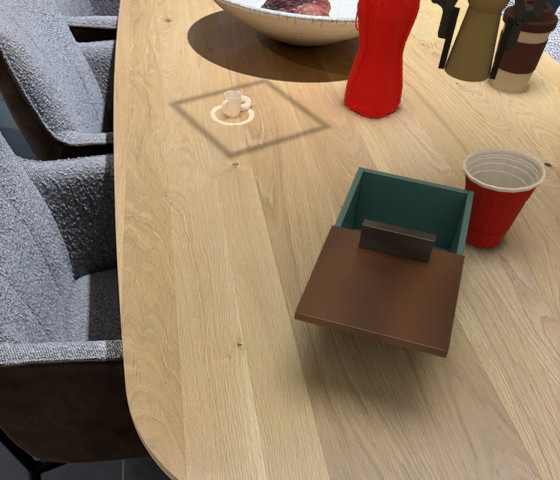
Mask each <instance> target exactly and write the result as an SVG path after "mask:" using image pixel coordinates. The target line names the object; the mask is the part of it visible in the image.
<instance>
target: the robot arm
mask: <svg viewBox="0 0 560 480" xmlns="http://www.w3.org/2000/svg"><path fill="white" fill-rule="evenodd" d="M430 1H431V3H432V4H434V5H437V6H439V7H440V8H441V9H442V10H441V11H442V13H441V17H440V22H439V25H438V29H437V38H438V39H443V40H444V42H443V46H442V50H441V55H440V58H439V62H438V65H437V69H438V70H444V67H445V64H446V62H447V59H448V57H449V54H450V50H451V47H452V42H453V38H454V34H455V30H456V27H457V22H458V18H459V15H460V11H461V7H459V6H456V5H457V4H458V1H459V0H430ZM547 1H548V0H535V2H534V6H533V7H528V8H526V2H527V0H514V4H515V11H514V18H513V17H508V19H507V22H506V25H505V28H504V31H503V35H502V38H501V41H500V44H499V47H498V50H497V49H496V50H497V53H496V52H495V54H496V56H495V55H494V58H495V60H494V59H493V62H492V67H491V72H490V76H489V78H488V79H489V80H490V79H494V80H495V78H496V75H497V72H498V69H499V66H500V63H501V60H502V57H503V54H504V51H510V52H512V51H513V50H514V49H515V47H516V44H517V41H518V38H519V35H520V32H521V29H522V26H523V25H524V24H525V23H527V22H531V21H534V22H538V21H540V20H541V18H542V15H543V12H544V8H545V5H546V3H547Z"/></svg>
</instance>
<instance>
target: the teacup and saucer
mask: <svg viewBox="0 0 560 480" xmlns="http://www.w3.org/2000/svg"><path fill="white" fill-rule="evenodd" d="M252 105H253V100H252V99H251V98H250V97H249V96H248V95H243V94H242V93H241V92H240V91H238V90H227V91H225V92H224V93H223V101H222V103H221V104H218V105H216V106H214V107H213V108H212V109H211V110H210V112H209V116H210V118H211V119H212V120H213V121H214V122H216V123H218V124H221V125H224V126H231V127H236V126H242V125H247V124H249V123H251V122H252V121H253V120H254V119H255V117H256V115H255V111H254V110H253V109H252V108H251V107H252ZM220 109H222V112H223V114H225V115H226V117H228V118H230V119H231V118H232V119H235V118H238V117H239V116H240V114H241V112H245V111H247V113H248V114H249V116H248V117H247V119H245V120H243V121H240V122H226V121H223V120H221V119H219V118H218V117H217V115H216V112H217V111H218V110H220Z"/></svg>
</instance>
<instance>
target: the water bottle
mask: <svg viewBox="0 0 560 480" xmlns="http://www.w3.org/2000/svg"><path fill="white" fill-rule="evenodd" d="M420 7H421V0H358V1H357V4H356V12H355V19H354V20H355V21H354V28H355V29H356V31H357V32H358V48H357V49H358V50H357V52H356V55H355V58H354V61H353V64H352V66H351V69H350V72H349V75H348V78H347V81H346V84H345V91H344V105H345V106H346V108H348V109H349V110H350V111H353V112H356V113H358V114H359V115H361V116H363V117H366V118H369V119H380V118H381V119H382V118H385V117H386V116H388V115H389V114H392V113H395V112H396V111H397V110H398V109H399V106H400V104H401V100H402V95H403V87H404V51H405V48H406V44H407V41H408V39H409V36H410V34H411V32H412V29H413V26H414V25H415V23H416V20H417V17H418V14H419V12H420Z"/></svg>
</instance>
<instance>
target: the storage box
mask: <svg viewBox="0 0 560 480" xmlns="http://www.w3.org/2000/svg"><path fill="white" fill-rule="evenodd" d="M473 197H474V192H473V191H468V190H465V188H460V187H454V186H449V185H445V184H440V183H436V182H431V181H427V180H422V179H417V178H413V177H408V176H404V175H399V174H394V173H389V172H384V171H380V170H375V169H370V168H366V167H362V166H358V169H357V171H356V173H355V175H354V177H353V180H352V183H351V185H350V187H349V190H348V192H347V194H346V197H345V199H344V201H343V204H342V206H341V209H340V211H339V214H338V215H337V218H336V221H335V223H334V224H333V225H334V226H338V227H342V228H347V229H351V230H355V231H360V232H361V230H362V225H363V222H364V220H365V219H367V220H371V221H376V222H380V223H385V224H389V225H393V226H398V227H402V228H407V229H411V230H415V231H420V232H424V233H429V234H433V235H436V239H435V243H434V246H433V249H438V250H442V251H446V252H451V253H455V254H459V255H464V253H465V248H466V243H467V242H466V237H467V231H468V225H469V220H470V214H471V208H472V203H473Z"/></svg>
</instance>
